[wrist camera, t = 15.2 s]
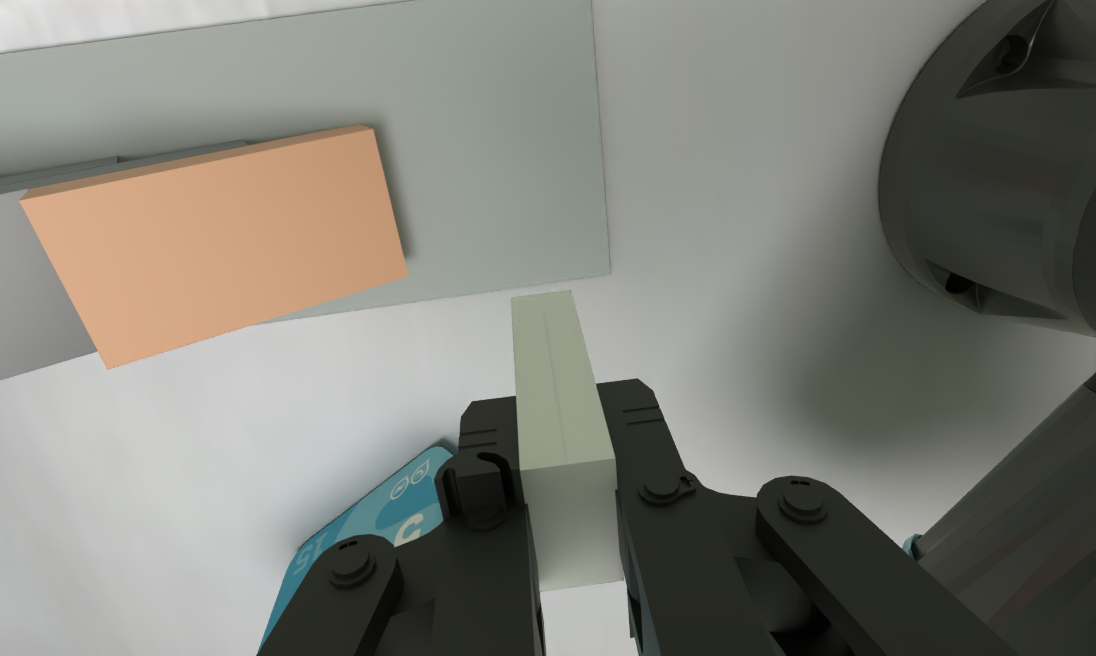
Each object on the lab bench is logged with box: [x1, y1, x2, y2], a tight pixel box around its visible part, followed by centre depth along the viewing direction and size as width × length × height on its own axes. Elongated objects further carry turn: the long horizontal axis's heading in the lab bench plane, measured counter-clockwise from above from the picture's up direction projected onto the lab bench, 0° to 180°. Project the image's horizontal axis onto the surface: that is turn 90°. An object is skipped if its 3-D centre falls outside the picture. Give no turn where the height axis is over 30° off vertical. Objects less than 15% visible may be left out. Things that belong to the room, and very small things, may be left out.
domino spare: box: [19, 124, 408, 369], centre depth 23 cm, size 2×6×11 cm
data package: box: [257, 447, 453, 654], centre depth 30 cm, size 12×4×12 cm, turn 130°
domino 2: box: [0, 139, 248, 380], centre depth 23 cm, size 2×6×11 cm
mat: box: [0, 0, 611, 326], centre depth 26 cm, size 30×12×1 cm, turn 96°
